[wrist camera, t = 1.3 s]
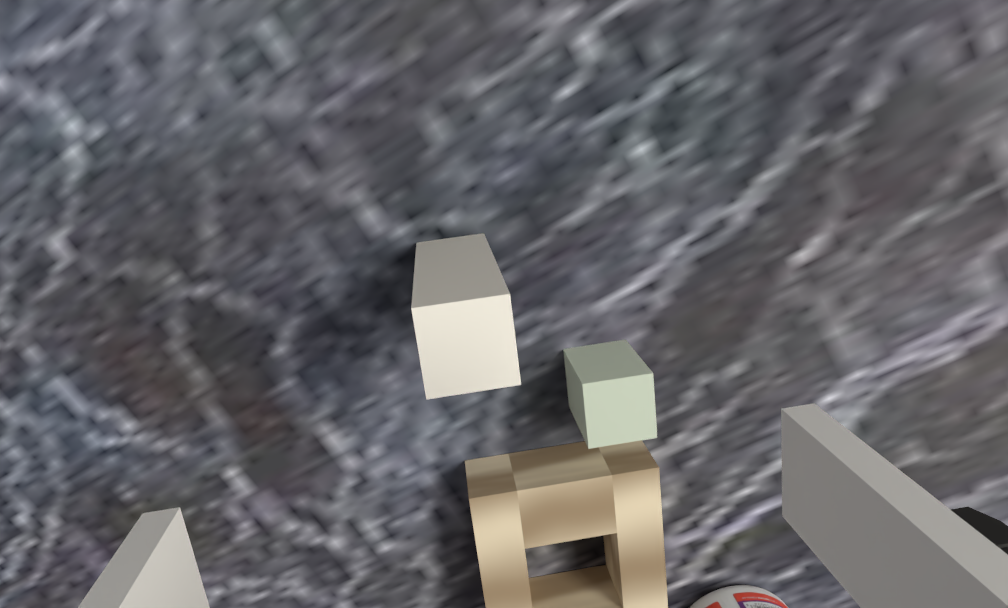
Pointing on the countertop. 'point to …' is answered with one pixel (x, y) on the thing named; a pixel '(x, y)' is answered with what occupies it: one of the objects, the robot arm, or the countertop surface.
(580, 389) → the short peg
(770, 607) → the pill bottle
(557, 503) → the hole block
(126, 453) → the countertop surface
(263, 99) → the countertop surface
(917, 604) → the robot arm
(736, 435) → the countertop surface
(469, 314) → the long peg
